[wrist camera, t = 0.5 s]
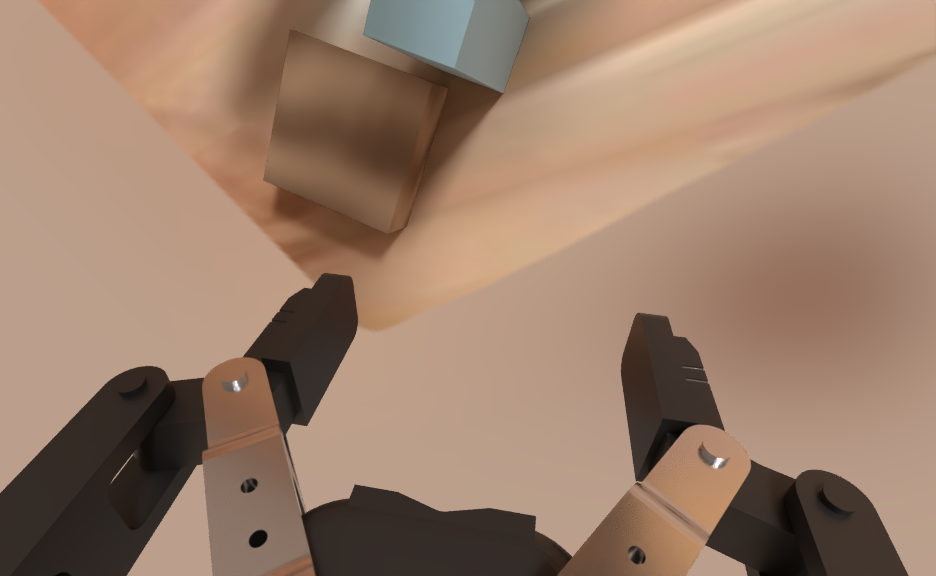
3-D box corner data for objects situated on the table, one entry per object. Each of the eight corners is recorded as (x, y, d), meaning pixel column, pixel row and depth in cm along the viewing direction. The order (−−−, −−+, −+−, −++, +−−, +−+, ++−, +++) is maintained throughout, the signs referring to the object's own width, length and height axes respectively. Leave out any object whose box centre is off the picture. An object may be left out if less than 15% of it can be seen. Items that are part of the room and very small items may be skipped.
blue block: (462, -6, 32) (390, -84, 21) (529, 17, 32) (490, -50, 21) (440, 69, 34) (362, 34, 23) (503, 93, 34) (454, 68, 22)
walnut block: (322, 41, 36) (290, 29, 33) (450, 89, 35) (431, 82, 31) (294, 177, 40) (263, 180, 37) (408, 225, 39) (387, 234, 35)
